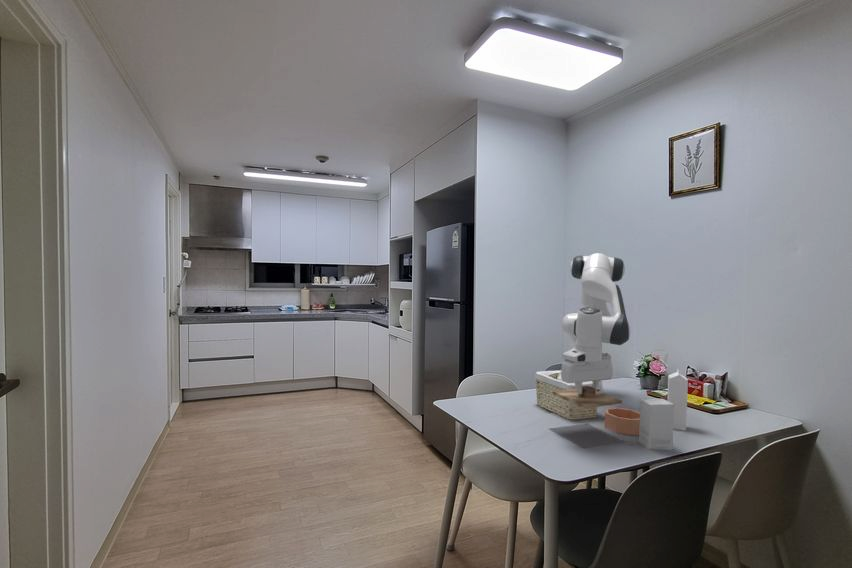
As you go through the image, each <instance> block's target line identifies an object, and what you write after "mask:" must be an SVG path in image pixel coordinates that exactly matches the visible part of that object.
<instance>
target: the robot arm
mask: <svg viewBox="0 0 852 568" xmlns="http://www.w3.org/2000/svg"><path fill="white" fill-rule="evenodd" d="M569 270H570V273H571V276H572V278H574V279H577V280H581V291H580V302H581V304H582V305H583V306H584V307H581V308H580V309H578V311H577V312H573V313H567V314H566V315H565V316H563V319H562V323H561V326H562V329H563V331H564V332H565V334H567V335H568V336H569V337H570V338H571V339H572V341H573V343H574V347H572V348H571V349H569V350H566V351H564V352H563V353H562V359H563V361H562V363H561V367H560V370H561V378H562V380H563V381H564V382H567V383H575V385H576V387H577V393H578V394H580V395H581V394H584V389H582V387H581V385H582V382H587V381H592V382H593V384H592V386H591V387H593V388H595V389H596V388H597V387H598V385H599V382H600V383H601V389H600V393H603V394H605V392H604V389H603V381H605V380H611V379H612V378H613V376H614V375H613V374H614V373H613V362H612V356H611V355H610V354H609V353H608V352H603V344H611V345H616V346H621V345H624V344H625V343H627V342H628V341H629V339H630V337H631V328H630V327H631V326H630V324H629V321H628V317H627V314H626V308H625V303H624V300H623V299H624V298H623V295H622V291H621V288H620V285H618V284H616V283H615V282H619V281H620V280H622V279H623V277H624V275H625V272H626V266H625V262H624V261H623V260H622V258H619V257H612V256H607V255H605V254H604V253H601V252H600V253H598V252H595V253H592V254H590V255H576V256H575V257H573V258H572V260H571V261H570V266H569ZM607 303H608V304H610V305H611V307H612V311H613V312H612V313H613V314H612V313H611V311H610V310H609V308H608V306H607V305H608V304H607Z"/></svg>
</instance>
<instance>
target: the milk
mask: <svg viewBox="0 0 852 568" xmlns="http://www.w3.org/2000/svg"><path fill="white" fill-rule="evenodd" d="M676 369H677V370H676V372H673V373H671V374H669V375H667V376H668V377H667V399H666V400H667V401H668V402H671V403H673V404H674V414H673V430H679V431H684V432H685V431H686V430H687V416H688V415H687V411H688V389H689V388H688V387H689V386H688V385H689V379H688V378H687V377H686V376H684V374H683V375H682V374H681V373H680V369H679V368H676Z"/></svg>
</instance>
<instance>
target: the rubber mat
mask: <svg viewBox="0 0 852 568" xmlns="http://www.w3.org/2000/svg"><path fill="white" fill-rule="evenodd" d="M548 430H549V431H551V432H553V433H554V434H557V435H559V436H561V437H563V439H565V440H568V441H570V442H571V443H573V444H576V446H578V447H580V448H582V449H588V448H589V449H590V448H595V447H601V446H608V445H613V444H619V443H625V442H626V441H625V440H623V439H621V438H619V437H616V436H614V435H612V434H611V433H608V432H606V431H604V430H602V429H599V428H598V427H596V426H593V425H591V424H589V423H582V424H573V425H567V426H559V427H557V426H556V427H550V428H548Z"/></svg>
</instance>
